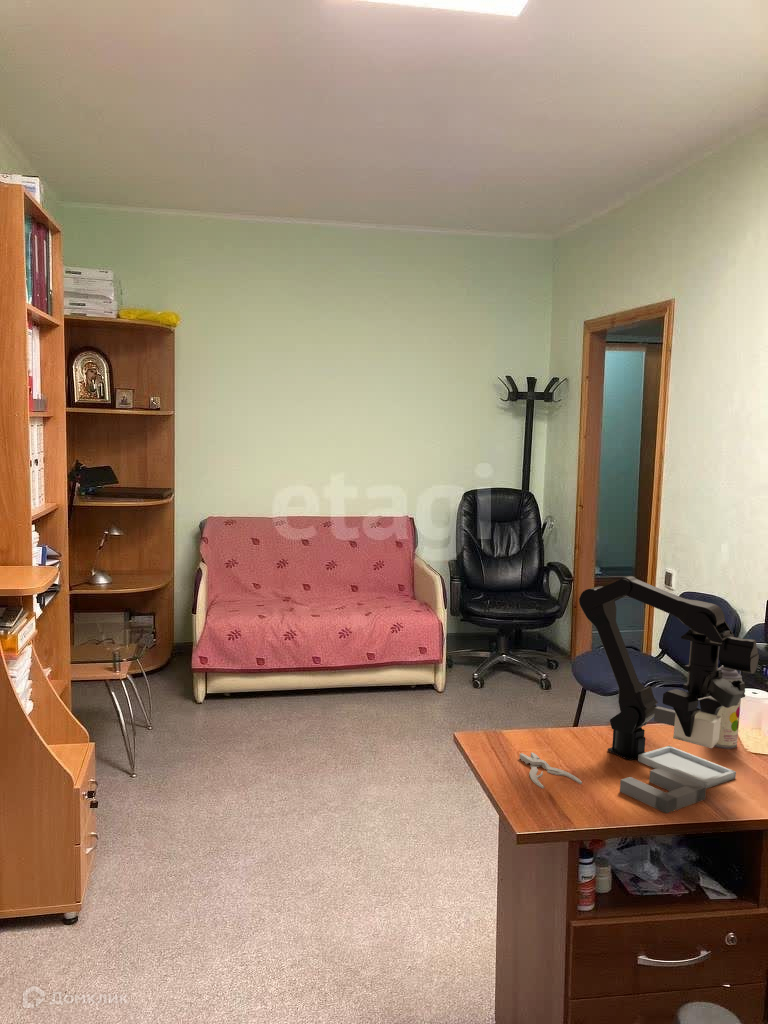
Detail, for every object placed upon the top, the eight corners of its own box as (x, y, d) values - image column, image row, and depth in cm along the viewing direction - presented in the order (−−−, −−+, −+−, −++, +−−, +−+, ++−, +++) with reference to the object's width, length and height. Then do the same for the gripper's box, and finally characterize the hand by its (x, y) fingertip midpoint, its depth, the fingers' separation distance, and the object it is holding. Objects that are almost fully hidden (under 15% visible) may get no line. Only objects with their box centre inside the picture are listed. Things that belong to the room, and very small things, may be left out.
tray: (637, 761, 179) (638, 754, 179) (669, 751, 186) (669, 745, 186) (704, 789, 166) (704, 782, 166) (735, 778, 172) (735, 771, 172)
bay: (619, 791, 163) (620, 779, 163) (658, 779, 170) (659, 767, 170) (666, 813, 154) (667, 801, 154) (705, 799, 161) (705, 787, 161)
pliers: (541, 782, 163) (506, 754, 177) (540, 790, 163) (506, 761, 177) (583, 777, 166) (545, 750, 180) (582, 785, 166) (545, 757, 180)
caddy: (650, 732, 176) (652, 707, 176) (658, 725, 181) (660, 701, 180) (711, 748, 169) (714, 723, 168) (718, 741, 173) (721, 716, 173)
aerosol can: (730, 751, 188) (737, 667, 186) (701, 742, 192) (708, 661, 191) (741, 743, 193) (747, 662, 191) (712, 735, 197) (718, 656, 196)
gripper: (711, 679, 160) (705, 754, 161) (763, 667, 170) (757, 738, 172) (663, 664, 169) (658, 736, 170) (715, 654, 179) (710, 722, 181)
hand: (697, 733), depth 173 cm, fingers closed on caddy, 6 cm apart
